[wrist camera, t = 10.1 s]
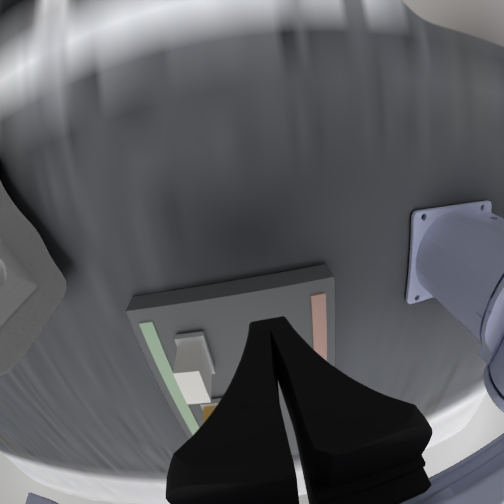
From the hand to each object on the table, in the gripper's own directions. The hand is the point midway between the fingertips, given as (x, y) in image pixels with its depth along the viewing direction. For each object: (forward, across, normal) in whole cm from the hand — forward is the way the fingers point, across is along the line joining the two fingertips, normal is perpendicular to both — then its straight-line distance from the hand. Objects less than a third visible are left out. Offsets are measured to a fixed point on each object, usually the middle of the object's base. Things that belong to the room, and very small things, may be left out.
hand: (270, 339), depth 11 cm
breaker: (+7, +5, +6) cm, 11 cm away
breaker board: (+9, +2, +13) cm, 16 cm away
